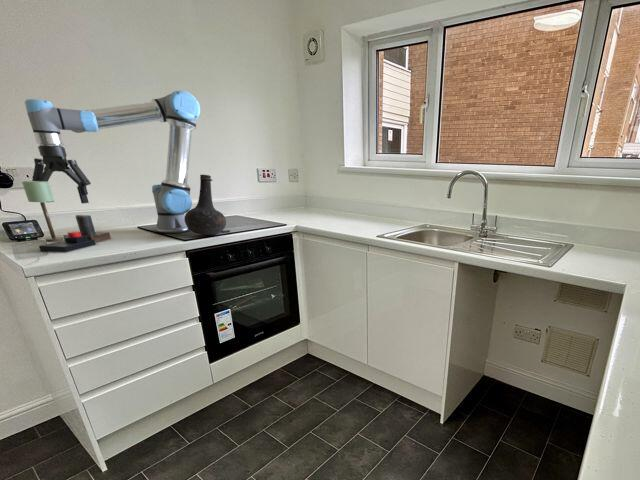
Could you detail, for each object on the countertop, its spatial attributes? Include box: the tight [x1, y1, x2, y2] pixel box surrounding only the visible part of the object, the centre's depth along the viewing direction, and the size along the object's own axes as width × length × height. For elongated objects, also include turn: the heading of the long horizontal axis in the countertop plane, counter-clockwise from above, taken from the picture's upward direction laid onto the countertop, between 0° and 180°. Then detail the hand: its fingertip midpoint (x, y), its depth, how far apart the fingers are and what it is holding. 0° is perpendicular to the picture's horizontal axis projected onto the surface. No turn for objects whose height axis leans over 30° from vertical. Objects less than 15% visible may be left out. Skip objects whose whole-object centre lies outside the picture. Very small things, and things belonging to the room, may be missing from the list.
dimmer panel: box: [63, 231, 112, 244], centre depth 155 cm, size 13×11×3 cm
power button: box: [67, 230, 81, 237], centre depth 145 cm, size 4×4×2 cm
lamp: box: [21, 180, 64, 243], centre depth 133 cm, size 7×7×22 cm
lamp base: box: [38, 235, 97, 253], centre depth 142 cm, size 10×14×4 cm
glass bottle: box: [184, 174, 227, 236], centre depth 169 cm, size 18×18×28 cm
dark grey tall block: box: [75, 214, 96, 236], centre depth 152 cm, size 5×5×8 cm
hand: (67, 202), depth 142 cm, fingers open, 13 cm apart
